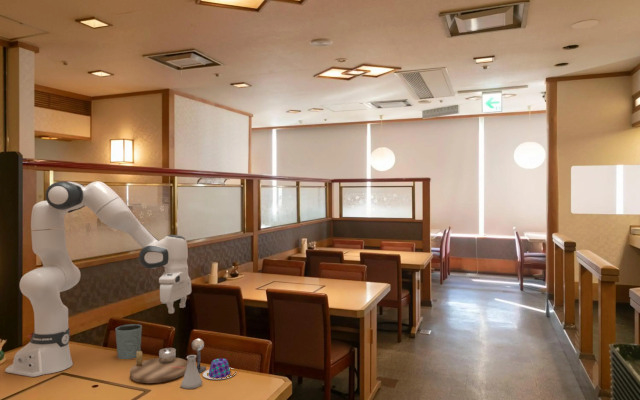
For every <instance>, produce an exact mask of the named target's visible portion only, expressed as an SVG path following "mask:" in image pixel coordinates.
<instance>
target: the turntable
mask: <svg viewBox="0 0 640 400" xmlns="http://www.w3.org/2000/svg"><path fill="white" fill-rule="evenodd" d="M135 360H136V363H135V364H134V365H132V367H130V369H129V377H130V379H131V380H132V381H134V382H137V383H143V384H145V383H146V384H154V383H163V382H169V381H172V380H175V379H177V378H181V377H182V376H184V375H185V372H186V369H187V363H188V360H186V359H184V358H180V357H176V361H174V362H172V363H168V364H162V363H159V357H155V358H150V359H146V360H143V351H142V350H140V351H138V352H136V358H135Z"/></svg>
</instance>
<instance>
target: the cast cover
mask: <svg viewBox="0 0 640 400" xmlns="http://www.w3.org/2000/svg"><path fill="white" fill-rule="evenodd" d="M176 351H177V349H176V348H174V347H165V348H161V349H160V350H159V351H158V355H159V356H158V358H159V363H162V364H168V363H172V362H174V361H176V358H177V357H176Z"/></svg>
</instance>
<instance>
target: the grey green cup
mask: <svg viewBox="0 0 640 400" xmlns="http://www.w3.org/2000/svg"><path fill="white" fill-rule="evenodd" d="M142 329H143V326H142V324H138V323H136V324H135V323H134V324H133V323H131V324H123V325H120V326H118V327H116V328H115V329H114V330H115V341H116V351H117V352H116V353H117V359H118V358H120V359H131V360H133V359H132V358H135V359H136V352H138V351H142V349H141V347H142ZM120 359H119V360H120Z"/></svg>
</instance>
